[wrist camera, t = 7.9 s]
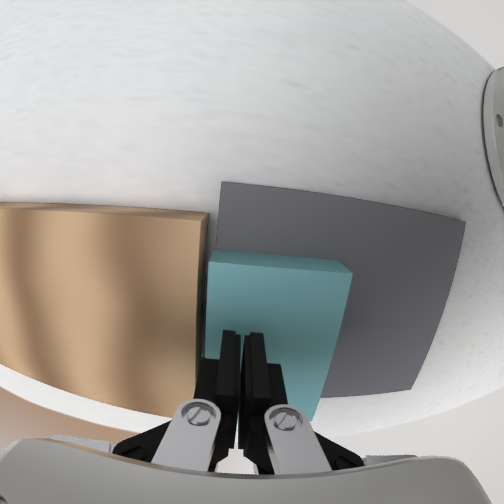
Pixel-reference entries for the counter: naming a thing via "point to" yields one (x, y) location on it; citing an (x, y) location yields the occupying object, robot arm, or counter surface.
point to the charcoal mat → (357, 273)
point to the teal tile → (280, 313)
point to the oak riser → (104, 300)
